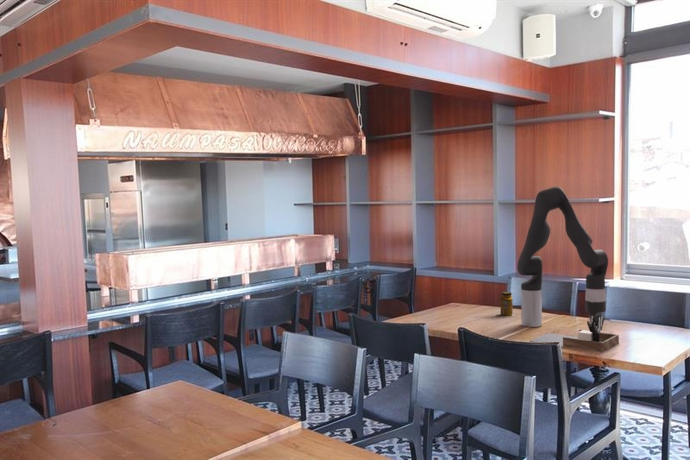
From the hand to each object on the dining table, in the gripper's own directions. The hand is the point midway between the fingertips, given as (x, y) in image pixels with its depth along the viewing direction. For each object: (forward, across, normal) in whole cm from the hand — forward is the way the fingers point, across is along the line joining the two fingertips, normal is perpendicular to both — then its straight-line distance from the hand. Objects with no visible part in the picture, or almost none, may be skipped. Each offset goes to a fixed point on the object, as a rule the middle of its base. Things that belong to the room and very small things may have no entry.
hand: (596, 342), depth 237 cm
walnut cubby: (+1, 0, -2) cm, 2 cm away
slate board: (+2, 0, -9) cm, 9 cm away
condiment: (+2, -38, -60) cm, 71 cm away
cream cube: (+1, 0, -4) cm, 4 cm away
